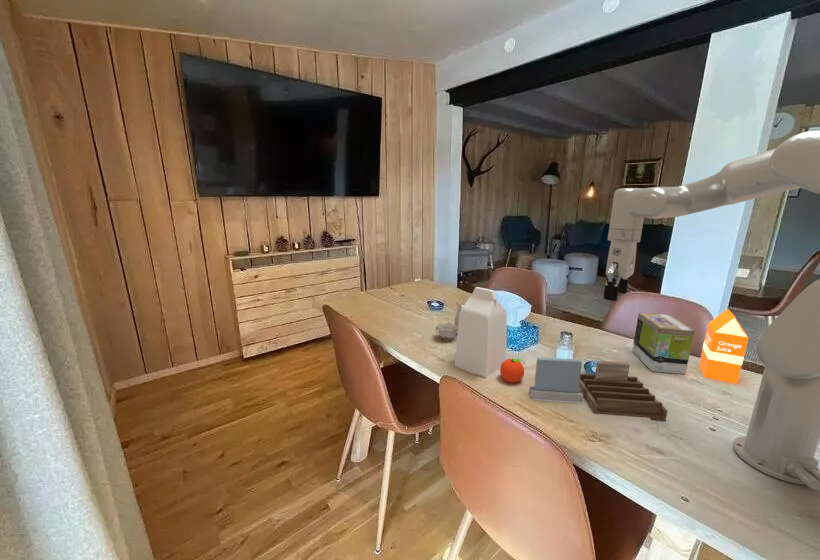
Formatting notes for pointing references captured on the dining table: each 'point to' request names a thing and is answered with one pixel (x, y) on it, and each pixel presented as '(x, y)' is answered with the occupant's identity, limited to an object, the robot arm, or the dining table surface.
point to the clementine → (512, 370)
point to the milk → (481, 334)
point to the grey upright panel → (557, 374)
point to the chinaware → (451, 327)
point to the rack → (619, 393)
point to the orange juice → (723, 348)
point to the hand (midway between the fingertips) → (615, 296)
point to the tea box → (663, 343)
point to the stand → (556, 396)
